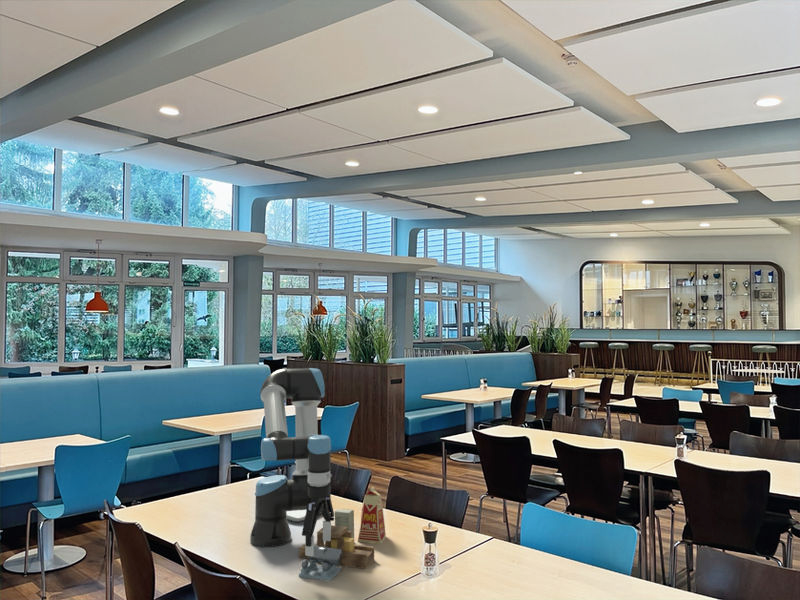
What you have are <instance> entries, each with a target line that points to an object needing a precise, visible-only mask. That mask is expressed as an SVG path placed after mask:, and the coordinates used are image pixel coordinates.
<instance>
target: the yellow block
mask: <svg viewBox="0 0 800 600" xmlns="http://www.w3.org/2000/svg"><path fill="white" fill-rule="evenodd" d="M342 538H344V551H348V552H352V551H353V550H354V544H355V537H354V538H349V537H342ZM331 548H335V549H337V538H333V539H331Z"/></svg>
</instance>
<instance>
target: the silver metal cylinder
mask: <svg viewBox="0 0 800 600" xmlns="http://www.w3.org/2000/svg"><path fill="white" fill-rule="evenodd" d="M342 556H343V553H342V550H341V549H335V548H328V547H321V546H317V545H315V544H314V556H308V558H307V560H308V562H310V561H311V562H316V564H318V563H319V564H323V563H324V562H326V563H329V565H336V566H337V567H340V566H341V565H340V564H341V561H342Z"/></svg>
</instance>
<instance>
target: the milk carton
mask: <svg viewBox="0 0 800 600" xmlns="http://www.w3.org/2000/svg"><path fill="white" fill-rule="evenodd" d="M360 517H361V518H360V528H359V532H358V537H357V542H361V543H368V544H380V545H381V544H382V543H383V541H384V540H385V538H386V527H385V526H386V525H385V516H384V507H383V501H382V495H381V494H380V493H379V492H378V491H377V490H375V487H374V486H372V487H369V490H368V492H367V493H365V494H364V497H363V503H362V507H361V514H360Z"/></svg>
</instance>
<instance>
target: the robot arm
mask: <svg viewBox="0 0 800 600" xmlns="http://www.w3.org/2000/svg"><path fill="white" fill-rule="evenodd" d="M260 387H261V388H260V399H261V401H262V403H263V409H264V411H263V412H264V425H265V428H264V429H265V438H262V439H261V442H260V455H261V460H262V461H264V462H275V461H278V462H279V461H293V460H295V470H294V471H293V472H292V474H291V478H290V479H288V477H287V476H286V475H285V474H280V475H279V474H276V475H274V474H273V475H270V476H266V477H263V478H261V479H259V480H258V481H256V484H255V493H254V496H255V511H254V513H255V517H254V523H253V525H252V529H251V532H250V537H249V538H250V543H251V544H252V545H254V546H256V547H262V548H263V547H266V548H267V547H270V548H271V547H278V546H283V545H285V544H287V543H289V542H290V541H291V540H292V533H291V528H290V526H289V521H288V520H287V517H286V515H287V511H296V510H306V515H305V520H303V527H302V531H301V536H303V537H304V538H305V539H304V540H305V543H304V545H305V555H306V556H314V545H315V535H314V531H315V528H316V524H317V521H318V517H319V516H321V515H322V517H323V521H322V528H323V540H324V542H325V541H331V525H332V522H335V511H334V508H333V504H332V502H333V501H332V499H331V498H332V497H331V494H332V493H331V478H332V473H331V458H332V456H331V453H332V451H331V450H332V444H331V437H330V436H329V435H326V434H325V435H323V434H318V432H319V431H318V406H319V405H320V403H321V402H322V400H321V399H323V398H324V397H325V396H326V395H325V394H326V392H325V389H326V388H325V381H324V378H323V373H322V371H321V369H319V368H313V367H307V368H306V367H304V368H303V367H302V368H279V369H277V370H275V371H273V372H272V373H270V374H269V375H268V376H267V377H266V378H265V379H264V381H263V383H262V385H261V386H260ZM285 399H290V401H291V402H290V403H291V404H292V405H293V407H294V408H295V409H294V411H295V415H294V416H295V417H294V418H295V437H293V436H292V437H290V436H289V433H288V423H287V416H286V406H285Z"/></svg>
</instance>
